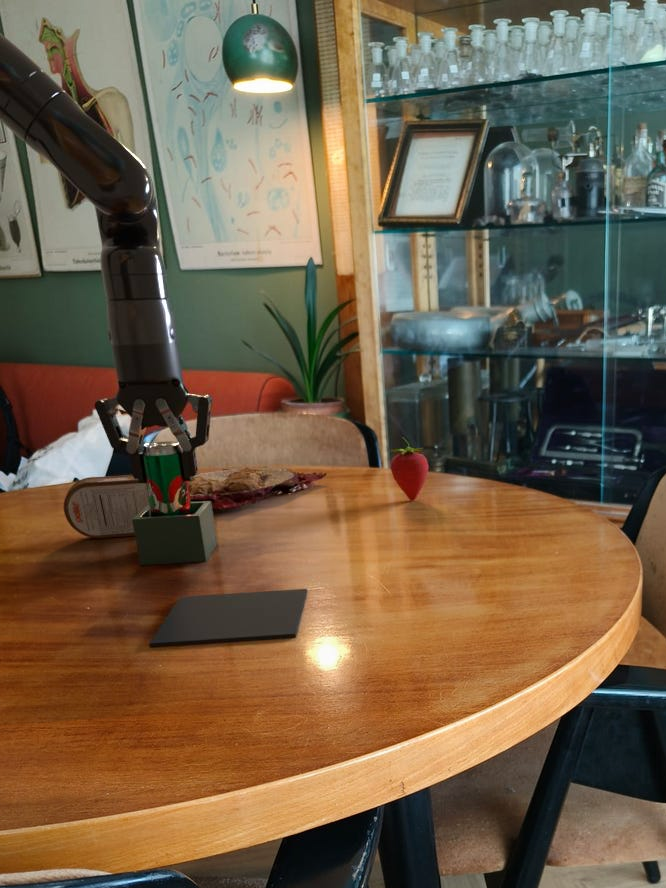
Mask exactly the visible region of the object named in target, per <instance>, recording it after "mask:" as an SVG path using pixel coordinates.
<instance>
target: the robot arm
mask: <svg viewBox="0 0 666 888" xmlns="http://www.w3.org/2000/svg"><path fill="white" fill-rule="evenodd" d="M0 122H1V123H2V124H3V125H5V126H6V128H8V129H9V130H10V131H11V132H12V133H14V134H15V136H16V137H18V138H19V139H20V140H21V141H22V142H24V143H25V144H26V145H27V146H28V147H29V148H30V149H32V150H33V151H34V152H35V153H37V154H38V155H39V156H41V157H42V158H43V159H45V160H47V161H49V163H50V164H52V166H53V167H54V168H56V170H57V171H58V172H59V173H60V174H61V175H62V176H63V177H64V178H65V179H66V180H67V181H68V182H69V183H70V184H71V185H72V186H74V187H75V188H76V190H78V192H80V194H82V196H84V197H85V198H86V199H87V200H88V201H89V202H90V203H91V204H92V205H93V207H94V210H95V214H96V221H97V225H98V232H99V237H100V242H101V251H100V270H101V275H102V276H101V277H102V281H103V288H104V294H105V299H106V313H107V315H106V317H107V326H108V337H109V341H110V344H111V350H112V355H113V361H114V368H115V373H116V379H117V384H118V388H117V392H116V395H115V396H114V397H113V396H112V397H110V398H102V399H99V400H96V401H95V403H94V409H95V411H96V413H97V416H98V418H99V420H100V424H101V425H102V428H103V431H104V432H105V435H106V437H107V441H108V442H109V445H110V447H111V448H112V449H113V450H120V451H124V452H126V453H127V454H128V457H129V464H130V469H131V475H133V477H134V479H138V482H139V483H146V481H145V475H144V469H143V463H142V457H141V454H142V452H143V450H142V447H143V440H144V437H145V433H146V431H147V428H152V427H155V426H156V427H160V428H166V427H167V428H168V429H169V430H170V432H171V433H172V435H173V436H174V437H175V439H176V442H178V443H179V446H180V448H181V449H182V450H183V451H182V452H181V457H182V464H183V471H184V477H185V481H192V480H193V479H194V476H195V475H197V474H198V473H199V472H198V471H199V469H198V468H199V467H198V462H197V461H198V460H197V454H196V450H197V448H198V447H202V446H204V445H205V444H206V443H208V441H209V439H210V430H211V429H210V428H211V420H212V419H211V418H212V417H211V416H212V407H213V398H212V396H211V395H209V394H204V395H200V394H195V393H194V394H193V393H190V391H189V390H188V389H187V387H186V385H185V382H184V376H183V369H182V363H181V356H180V355H181V354H180V347H179V342H178V335H177V328H176V321H175V316H174V312H173V310H172V305H171V300H170V295H169V287H168V281H167V280H168V279H167V275H166V269H165V263H164V260H163V255H162V251H161V241H160V227H159V226H160V225H159V215H158V205H157V204H158V203H157V196H156V189H155V185H154V181H153V179H152V176H151V174H150V173H149V171H148V169H147V168H146V167H145V165H144V164H143V163H142V161H141V160H140V159H139V158H138V157H137V156H136V155H135V154H134V153H132V152H131V151H130V150H129V149H128V148H127V147H126V146H125V145H124V144H123V143H121V142H120V141H119V140H118V139H116V138H115V136H113V135H112V134H111V133H110V132H108V131H107V130H106V129H105V128H104V127H102V126H101V125H100V124H99V123H98V122H97V121H95V120H94V119H93V118H91V116H90V115H88V114H86V112H85V111H84V109H82V107H81V106H80V105H79V103H77V101H76V100H75V99H74V98H73V97H72V96H71V95H69V94H68V92H66V90H65V89H64V88H62V86H60V84H58V83H57V82H56V81H55V80H54V79H53V78H52V77H51V76H50V75H49V74H47V72H45V71H44V69H43V68H41V67H40V66H39V65H38V64H37V63H36V62H35V61H34V60H32V59H31V58H30V57H29V56H28V55H27V54H26V53H24V51H22V50H21V49H20V48H19V47H18V46H16V44H14V43H13V42H12V41H10V40H9V39H8V38H7V37H6V36H4V35H3V33H1V32H0ZM188 403H189V404H190V405H191V408H192V412H194V413H195V414H197V415H196V423H195V424H196V427H195V435H194V436H192V435H191V433H190V430H189V428H188V427H189V426H188V424H187V423H186V421H185V419H184V417H183V415H182V413H183V412H184V410H185V408H186V407H187V405H188ZM119 406H120V407H121V408H122V410H124V411H125V413H126V414H127V415H128V416H129V417H130V424H129V428H128V437H127V438H126V437H125V435H124V433H123V430H122V428H121V426H120V425H121V424H120V423H119V421H118V418H117V415H118V414H119Z"/></svg>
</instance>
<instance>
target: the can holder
mask: <svg viewBox="0 0 666 888" xmlns="http://www.w3.org/2000/svg"><path fill="white" fill-rule="evenodd" d="M211 503H212V501H211V500H201V501H191V506H192V513H193V515H176V516H158V517H151V512H150V506H149V504H148V505H147V506H146V507H145V508H144V509H143V510H142V511H140V512H139V513H138V514H137V515H136V516H135V517H134V518H133V519H132V523H133V528H134V533H135V536H134V539H135V544H136V550H137V555H138V559H139V564H140V566H155V565H171V564H187V563H189V564H190V563H203V562H207V561H208V559H209V558H210V557H211V555H212V553H213V552H214V550H215V549H216V548H217V546H218V539H217V531H216V524H215V518H214V511H213V509H212V504H211Z"/></svg>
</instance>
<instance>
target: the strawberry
mask: <svg viewBox="0 0 666 888" xmlns="http://www.w3.org/2000/svg"><path fill="white" fill-rule="evenodd" d="M401 438H402V439H403V440H404V441H405V442H406V443H407V447H405V448H404V449H403V448H396V449H389V452H391V453H392V452H394V453H398V454H396V455H394V456H393V457H392V459H391V460H390V471H391V474H392V477H393V480H394V481H395V483H396V484H397V486H398V487H399V488H400V490H401V491H402V492H403V493H404V494H405V496H406V497H407V498H408V499H409V501H413V502H414V501H415V500H417V498H418V496H419V494H420V492H421V490H422V489H423V487H424V484H425V483H426V480H427V478H428V472H429V463H428V459H427V458H426V457H425V456H424V454H421V453H423V449H424V447H415V448H413V447H410V443H409V441H408V440H406V439H405V438H404V436H401Z"/></svg>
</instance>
